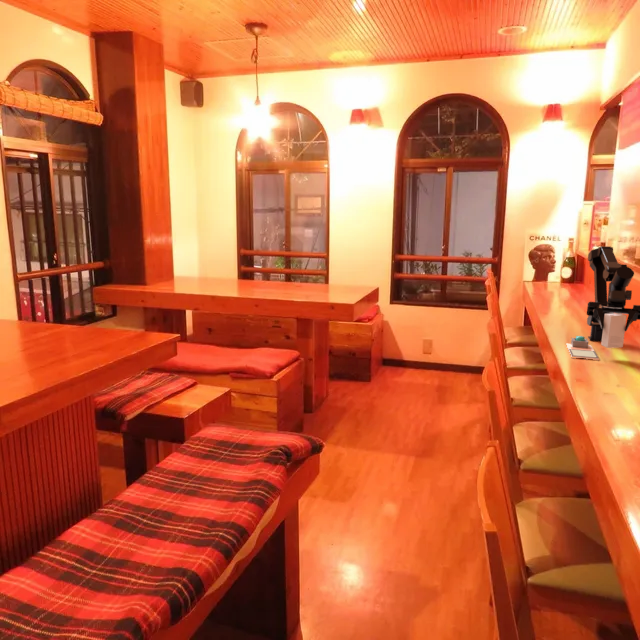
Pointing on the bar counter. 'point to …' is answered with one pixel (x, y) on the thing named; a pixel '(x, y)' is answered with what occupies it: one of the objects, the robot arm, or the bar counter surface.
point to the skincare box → (613, 330)
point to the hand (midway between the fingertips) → (614, 329)
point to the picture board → (581, 349)
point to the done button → (580, 338)
